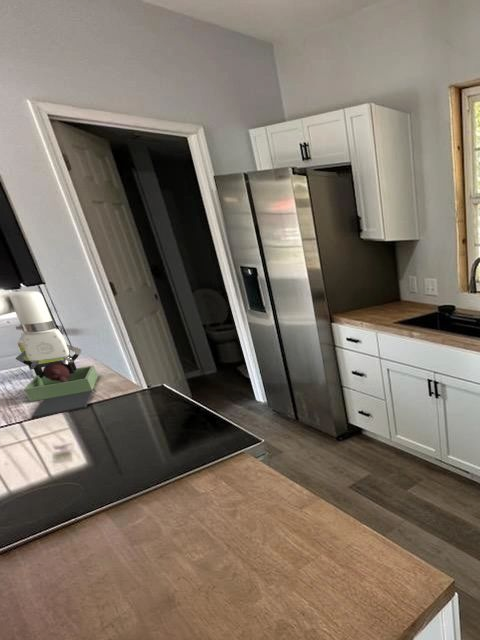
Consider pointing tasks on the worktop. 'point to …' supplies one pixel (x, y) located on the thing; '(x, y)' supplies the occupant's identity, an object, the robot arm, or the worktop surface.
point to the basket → (62, 384)
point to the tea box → (43, 362)
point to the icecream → (57, 372)
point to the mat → (62, 404)
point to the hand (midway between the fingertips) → (58, 374)
